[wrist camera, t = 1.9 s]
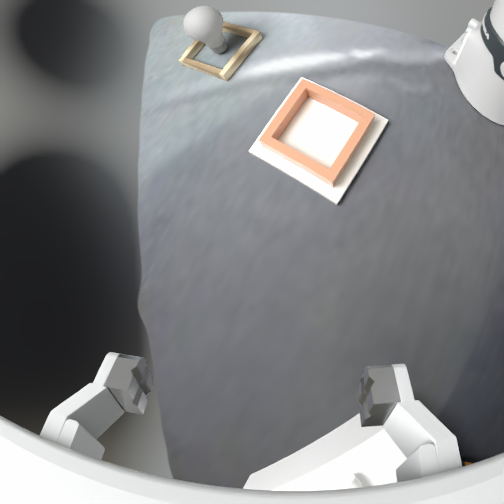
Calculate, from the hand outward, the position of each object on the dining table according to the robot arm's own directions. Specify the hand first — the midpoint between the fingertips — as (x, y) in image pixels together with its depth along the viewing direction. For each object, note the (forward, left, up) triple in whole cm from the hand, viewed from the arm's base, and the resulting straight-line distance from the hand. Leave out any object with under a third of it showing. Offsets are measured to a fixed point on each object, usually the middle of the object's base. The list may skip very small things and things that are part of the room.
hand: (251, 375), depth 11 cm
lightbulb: (-25, -35, -30) cm, 52 cm away
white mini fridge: (+19, +19, -30) cm, 40 cm away
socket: (-18, -12, -30) cm, 37 cm away
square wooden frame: (-25, -35, -30) cm, 52 cm away
